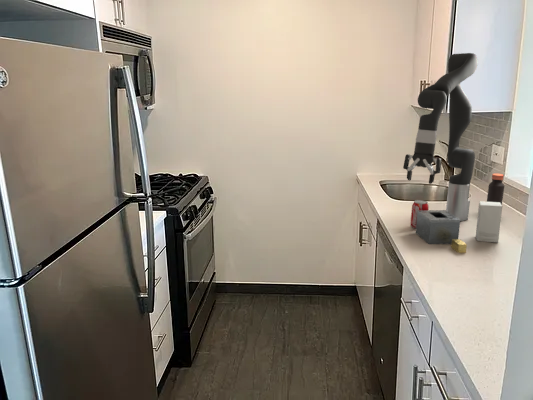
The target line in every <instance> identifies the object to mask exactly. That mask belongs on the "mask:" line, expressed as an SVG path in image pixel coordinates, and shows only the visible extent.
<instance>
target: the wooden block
mask: <svg viewBox="0 0 533 400" xmlns="http://www.w3.org/2000/svg"><path fill="white" fill-rule="evenodd" d="M450 245H451V246H450V247H451V249H452V250H454V251H455V252H456V253H458V254H464V253H465V254H466V253H467V247H468V244H467V243H466V242H464V241H463V240H462V239H460V238H458V239H452V244H450Z"/></svg>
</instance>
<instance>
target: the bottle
mask: <svg viewBox="0 0 533 400" xmlns="http://www.w3.org/2000/svg"><path fill="white" fill-rule="evenodd" d="M503 181H504V174H502V173H492V174H491V182H489V184H488V187H487V195H486V202H500V203H501V205H502V206H503V199H504V191H505V184H504V183H503Z"/></svg>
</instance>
